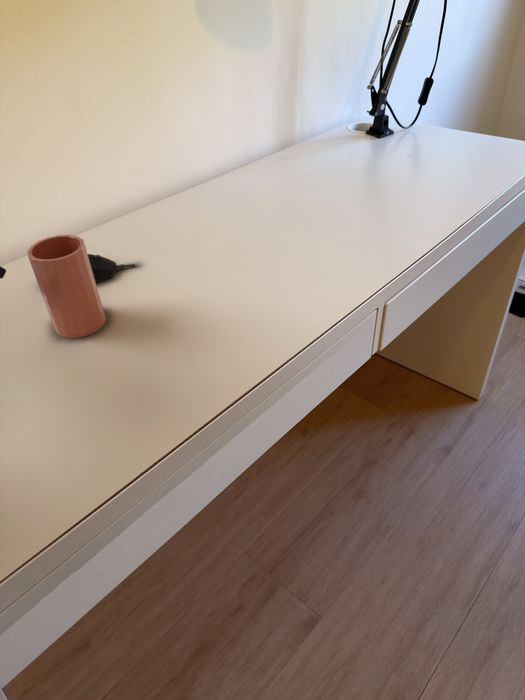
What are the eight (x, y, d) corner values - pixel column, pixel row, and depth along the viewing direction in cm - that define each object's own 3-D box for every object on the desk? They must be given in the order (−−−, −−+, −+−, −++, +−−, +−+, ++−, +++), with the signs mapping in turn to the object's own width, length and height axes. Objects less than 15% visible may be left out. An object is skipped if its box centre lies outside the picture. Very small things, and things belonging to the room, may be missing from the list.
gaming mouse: (138, 275, 84) (133, 252, 82) (42, 295, 81) (34, 272, 79) (132, 257, 89) (127, 235, 87) (41, 275, 86) (33, 253, 83)
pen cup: (57, 343, 71) (28, 265, 64) (53, 316, 76) (26, 241, 69) (109, 330, 73) (87, 253, 66) (101, 304, 78) (80, 230, 71)
